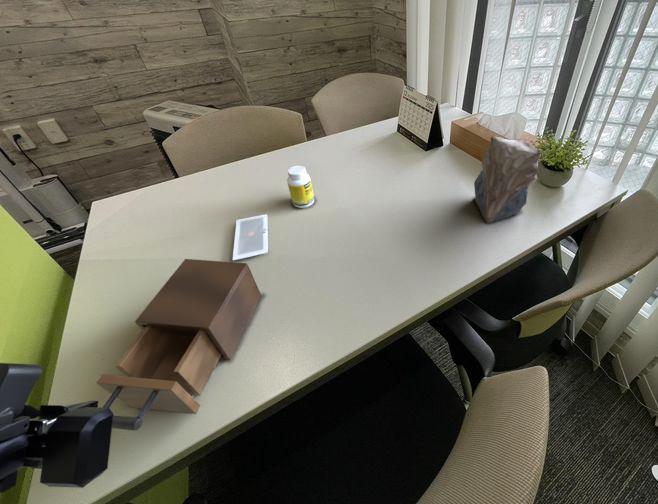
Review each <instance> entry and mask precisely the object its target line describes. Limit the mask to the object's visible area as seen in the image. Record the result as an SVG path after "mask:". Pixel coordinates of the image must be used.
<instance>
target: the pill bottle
mask: <svg viewBox="0 0 658 504" xmlns="http://www.w3.org/2000/svg"><path fill="white" fill-rule="evenodd" d="M287 175H288V177H287V179H286V182H287V186H288V191H289V194H290V198H291V202H292V204H293V206H294V207H296V208H301V209H303V208H308V207H310V206H311V205H313V204H314V202H315V195H314V191H313V185H312V181H311V180H312V179H311V177H310V174H308V173H307V170H306V167H305V166H304V165H299V164H298V165H292V166H291V167H288V169H287Z"/></svg>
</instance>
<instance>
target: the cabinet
mask: <svg viewBox="0 0 658 504" xmlns="http://www.w3.org/2000/svg"><path fill="white" fill-rule="evenodd" d="M262 298H263V296H262V294H261V291H260V288H259V287H258V285H257V282H256V280H255V278H254V275H253V273H252V271H251V269H250V266H249V265H248V263H247V262H236V261H223V260H206V259H193V258H184V260H183V261H182V262H181V263H180V264H179V266H178V267H177V268H176V270H175V271H174V272H173V273H172V275H171V276H170V277H169V278H168V279H167V280H166V282H165V283H164V284H163V286H162V287H161V288H160V290H159V291H158V292H157V293H156V295H155V296H154V297H152V299H151V301H150V302H149V303H148V305H147V306H146V307H145V308H144V310H143V311H142V312H141V313H140V314H139V316H138V317H137V318H136V319H135V321H134V323H135V324H136V325H137V326H138V327H139V328H140V329H141V331H142V330H143V329H144V328H145V326H146V325H152V326H164V327H175V328H187V329H199V330H206V331H207V333H208V334H209V335H210V337H211V338H212V340H213V341H214V343H215V344H216V346H217V347H218V348H219V350H220V351H221V353H222V355H221V357H220V359H219V360H227V361H228V360H229V361H230V360H231V359H232V357H233V355H234V353H235V351H236V350H237V347H238V345H239V343H240V341H241V339H242V337H243V335H244V333H245V331H246V329H247V327H248V325H249V323H250V321H251V319H252V317H253V316H254V313H255V311H256V309H257V307H258V306H259V303H260V301H261V300H262Z"/></svg>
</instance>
